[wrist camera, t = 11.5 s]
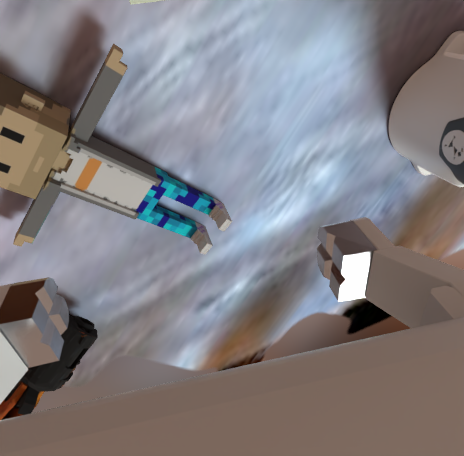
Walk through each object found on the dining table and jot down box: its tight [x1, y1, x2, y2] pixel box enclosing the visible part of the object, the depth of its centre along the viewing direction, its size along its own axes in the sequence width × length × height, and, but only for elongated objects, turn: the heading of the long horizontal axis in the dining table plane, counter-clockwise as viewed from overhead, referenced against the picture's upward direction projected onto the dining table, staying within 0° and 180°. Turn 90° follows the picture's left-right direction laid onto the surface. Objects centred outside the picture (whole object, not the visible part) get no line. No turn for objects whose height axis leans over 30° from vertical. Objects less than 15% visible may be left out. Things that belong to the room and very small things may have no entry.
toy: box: [0, 44, 232, 254], centre depth 42 cm, size 26×8×30 cm
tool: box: [0, 315, 97, 420], centre depth 55 cm, size 8×23×15 cm, turn 131°
